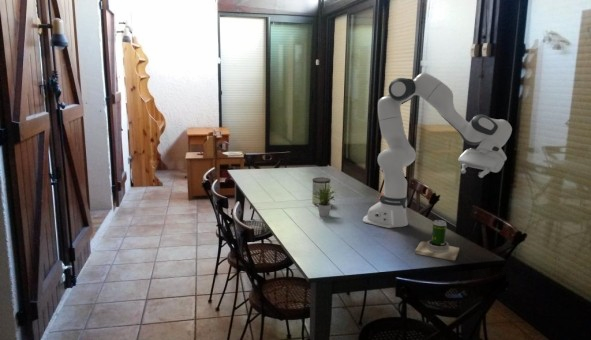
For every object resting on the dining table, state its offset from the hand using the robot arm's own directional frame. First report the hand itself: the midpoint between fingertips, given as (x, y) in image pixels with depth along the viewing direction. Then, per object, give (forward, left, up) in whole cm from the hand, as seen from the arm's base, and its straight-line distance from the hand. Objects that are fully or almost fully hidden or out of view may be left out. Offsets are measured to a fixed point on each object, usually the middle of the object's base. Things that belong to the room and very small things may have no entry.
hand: (470, 174), depth 206 cm
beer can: (-8, -21, -29) cm, 37 cm away
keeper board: (-9, -21, -31) cm, 38 cm away
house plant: (-71, +3, -31) cm, 77 cm away
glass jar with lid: (-83, +25, -31) cm, 92 cm away
